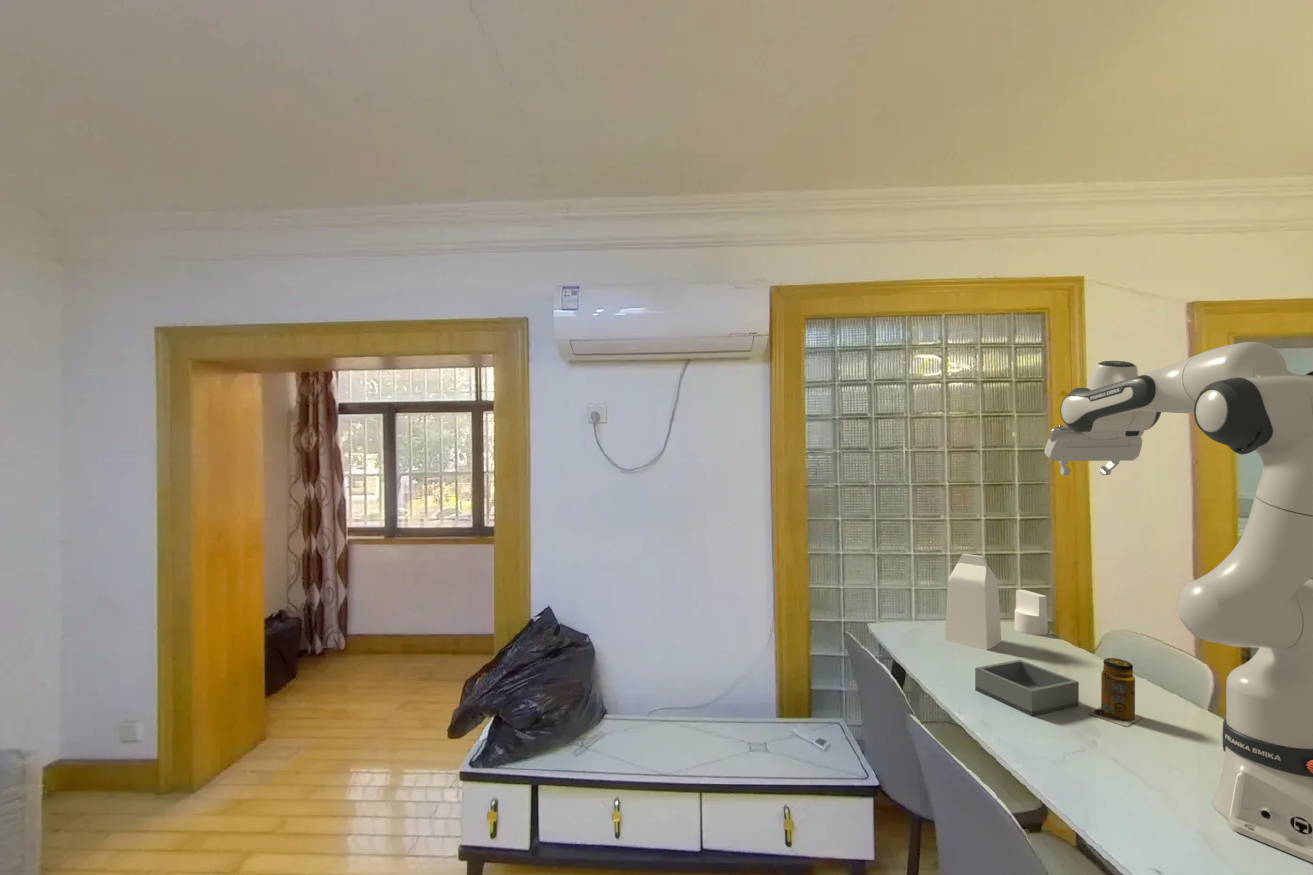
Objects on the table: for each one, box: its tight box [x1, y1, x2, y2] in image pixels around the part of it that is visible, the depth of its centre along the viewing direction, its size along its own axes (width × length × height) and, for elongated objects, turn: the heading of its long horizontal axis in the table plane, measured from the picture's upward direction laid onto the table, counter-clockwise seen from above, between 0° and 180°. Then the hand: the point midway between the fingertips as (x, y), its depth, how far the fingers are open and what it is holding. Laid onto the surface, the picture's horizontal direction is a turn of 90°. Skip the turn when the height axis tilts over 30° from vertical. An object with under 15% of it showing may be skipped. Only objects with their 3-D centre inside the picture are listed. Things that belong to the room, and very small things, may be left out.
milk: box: [944, 553, 1002, 651], centre depth 187 cm, size 12×12×26 cm
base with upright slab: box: [1014, 589, 1049, 636], centre depth 197 cm, size 9×9×12 cm
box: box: [974, 659, 1080, 717], centre depth 147 cm, size 15×15×6 cm
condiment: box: [1088, 657, 1143, 727], centre depth 137 cm, size 7×8×12 cm
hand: (1084, 474), depth 155 cm, fingers open, 8 cm apart
